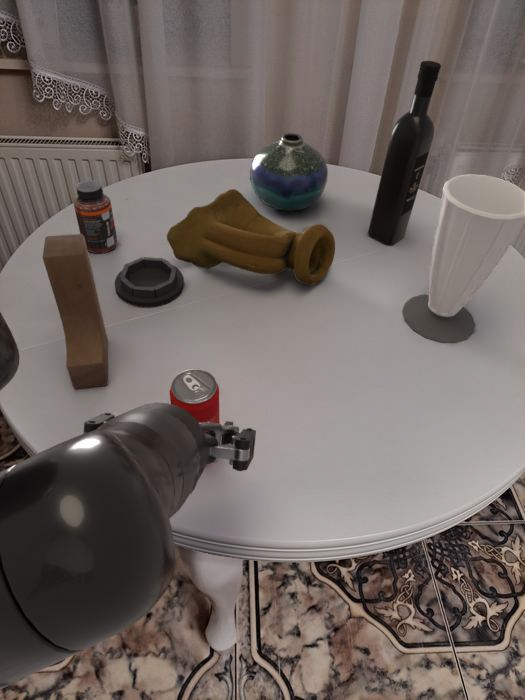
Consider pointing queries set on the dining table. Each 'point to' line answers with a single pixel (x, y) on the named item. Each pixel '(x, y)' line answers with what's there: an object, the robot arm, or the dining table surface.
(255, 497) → the dining table surface
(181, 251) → the brown looped sculpture
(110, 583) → the robot arm
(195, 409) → the beverage can
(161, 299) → the socket pad
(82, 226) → the supplement bottle
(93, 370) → the wooden block
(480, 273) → the cup
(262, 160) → the vase
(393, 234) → the wine bottle
